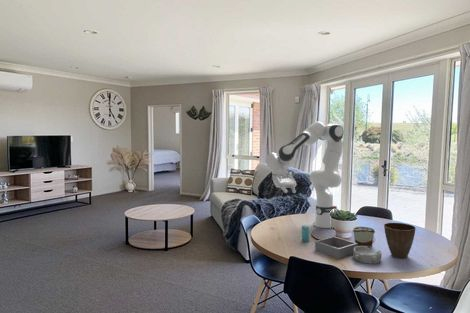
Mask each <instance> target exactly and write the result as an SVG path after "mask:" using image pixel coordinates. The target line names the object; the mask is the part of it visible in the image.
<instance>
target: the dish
mask: <svg viewBox="0 0 470 313" xmlns="http://www.w3.org/2000/svg"><path fill="white" fill-rule="evenodd" d="M352 255H353V259H354V260H356V261H357V262H360V263H363V264H371V265H374V264H379V263H380V262H381V261H382V252H381V250H378V251H377V252H373V251H372V250H371V249H370V248H369V247H367V246H357V247H355V248H354V249H353V254H352Z"/></svg>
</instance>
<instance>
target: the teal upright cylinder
mask: <svg viewBox="0 0 470 313" xmlns="http://www.w3.org/2000/svg"><path fill="white" fill-rule="evenodd" d="M301 242H302V243H309V242H310V226H309V225H302V226H301Z"/></svg>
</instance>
